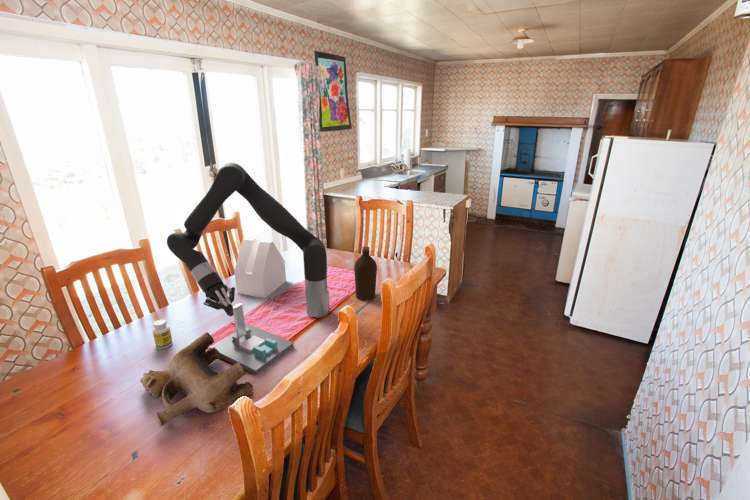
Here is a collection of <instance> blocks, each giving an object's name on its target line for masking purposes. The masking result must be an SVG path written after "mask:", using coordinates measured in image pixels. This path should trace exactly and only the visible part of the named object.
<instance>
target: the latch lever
mask: <svg viewBox="0 0 750 500" xmlns="http://www.w3.org/2000/svg"><path fill="white" fill-rule="evenodd" d="M232 306H233V305H232ZM233 314H234V315H233V319H234V325H235V332H236V334H237V336H239V339H240V338H241V337H243V336H245V335H246V329H245V326H246V323H245V316H244V309H243V304H242V303H238V304H235V305H234V306H233Z"/></svg>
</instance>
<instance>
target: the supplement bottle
mask: <svg viewBox="0 0 750 500" xmlns="http://www.w3.org/2000/svg"><path fill="white" fill-rule="evenodd" d="M152 326H153V329H152V334H153V339H154V344H155V347H156V348H157V349H160V350H161V349H167V348H169V347H170V346H171V345H172V344H173V338H172V333H171V329H170V326H169V324H167V320H166V319H158V320H156V321H154V322H153V325H152Z"/></svg>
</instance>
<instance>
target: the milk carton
mask: <svg viewBox="0 0 750 500" xmlns="http://www.w3.org/2000/svg"><path fill="white" fill-rule="evenodd" d="M285 261H286V260H285V259H284V257H283V256H282V254H281V252H280V251H279V248H277V246H276V244H275V243H274V241H272V240H265V239H261V240H260V241H259V242H258V240H257V239H256V238H251V237H250V238H249V237H244V238H242V241H241V243H240V248H239V251H238V255H237V260H236V264H235V267H234V273H233V274H234V280H235V289H236V294H240V295H245V296H252V297H258V298H263V299H266V298H267V297H268V296H270V295H271V294H272V293H273V292H275V291H276V290H277V289H278V288H280V287H281V286H282V285H284V283H286V282H287V273H286V262H285Z"/></svg>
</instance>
